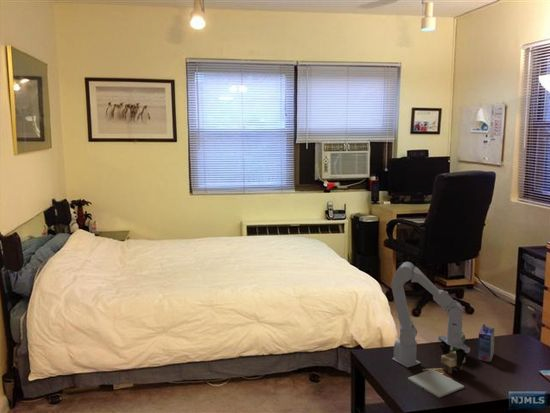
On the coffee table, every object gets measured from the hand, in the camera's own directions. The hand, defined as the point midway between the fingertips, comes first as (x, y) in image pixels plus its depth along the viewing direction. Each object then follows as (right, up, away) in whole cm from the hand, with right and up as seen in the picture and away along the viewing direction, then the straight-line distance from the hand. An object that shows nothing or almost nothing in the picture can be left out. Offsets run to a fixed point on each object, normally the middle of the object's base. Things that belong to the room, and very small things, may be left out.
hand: (453, 362), depth 198 cm
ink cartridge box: (+19, -2, +13) cm, 23 cm away
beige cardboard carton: (0, -3, 0) cm, 3 cm away
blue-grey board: (-11, -5, -10) cm, 16 cm away
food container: (+8, -2, +15) cm, 17 cm away
